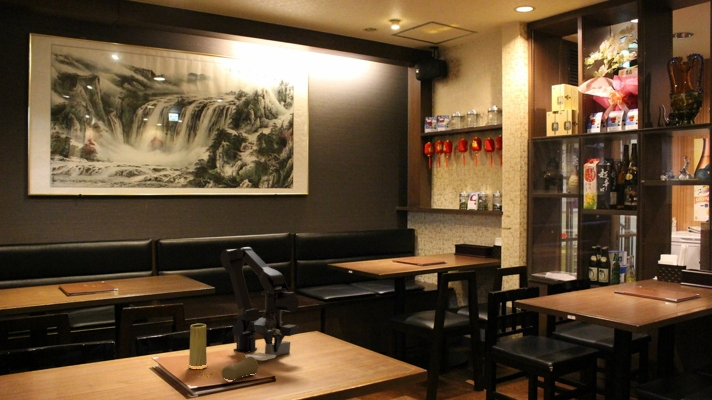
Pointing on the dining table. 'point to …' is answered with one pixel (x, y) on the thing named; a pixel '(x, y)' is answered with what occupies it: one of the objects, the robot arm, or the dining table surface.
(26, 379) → the dining table surface
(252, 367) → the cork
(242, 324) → the robot arm
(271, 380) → the dining table surface
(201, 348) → the vase
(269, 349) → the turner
